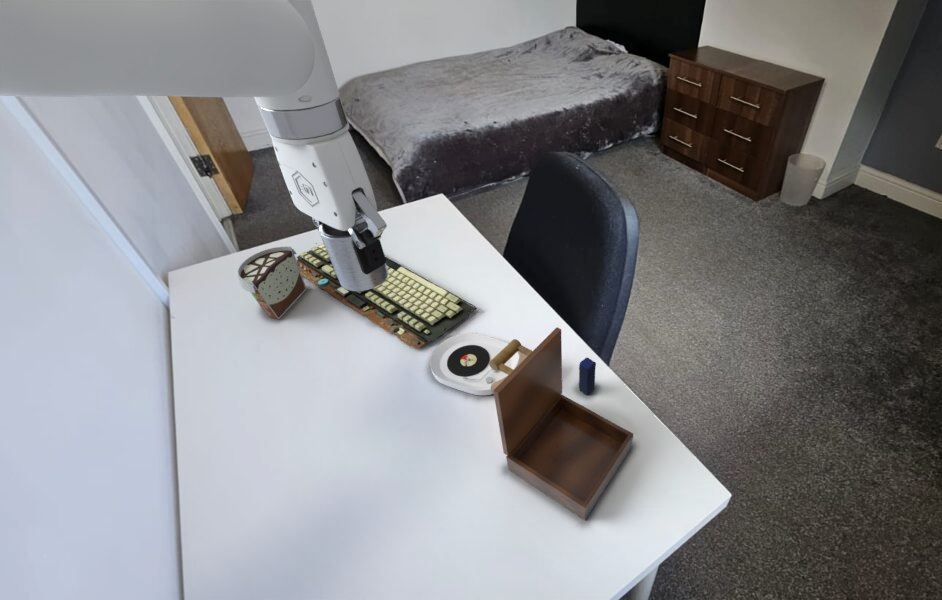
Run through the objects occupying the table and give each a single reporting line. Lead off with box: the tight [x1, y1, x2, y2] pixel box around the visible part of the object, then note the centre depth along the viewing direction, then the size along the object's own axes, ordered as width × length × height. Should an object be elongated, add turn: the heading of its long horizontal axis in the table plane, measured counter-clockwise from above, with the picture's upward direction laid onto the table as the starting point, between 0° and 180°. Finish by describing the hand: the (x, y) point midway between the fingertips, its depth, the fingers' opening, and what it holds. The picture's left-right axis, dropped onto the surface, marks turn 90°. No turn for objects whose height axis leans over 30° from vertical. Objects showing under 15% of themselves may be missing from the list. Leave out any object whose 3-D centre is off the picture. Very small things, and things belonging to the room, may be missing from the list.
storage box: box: [505, 393, 634, 521], centre depth 68 cm, size 13×13×4 cm
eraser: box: [578, 357, 597, 396], centre depth 77 cm, size 2×2×7 cm
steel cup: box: [318, 212, 388, 291], centre depth 59 cm, size 6×6×8 cm
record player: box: [429, 332, 527, 396], centre depth 81 cm, size 12×3×20 cm
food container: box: [237, 246, 308, 321], centre depth 91 cm, size 12×6×10 cm, turn 172°
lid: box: [489, 327, 563, 456], centre depth 66 cm, size 14×13×5 cm
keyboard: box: [296, 242, 478, 350], centre depth 97 cm, size 45×15×2 cm, turn 54°
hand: (357, 258), depth 60 cm, fingers closed on steel cup, 6 cm apart
